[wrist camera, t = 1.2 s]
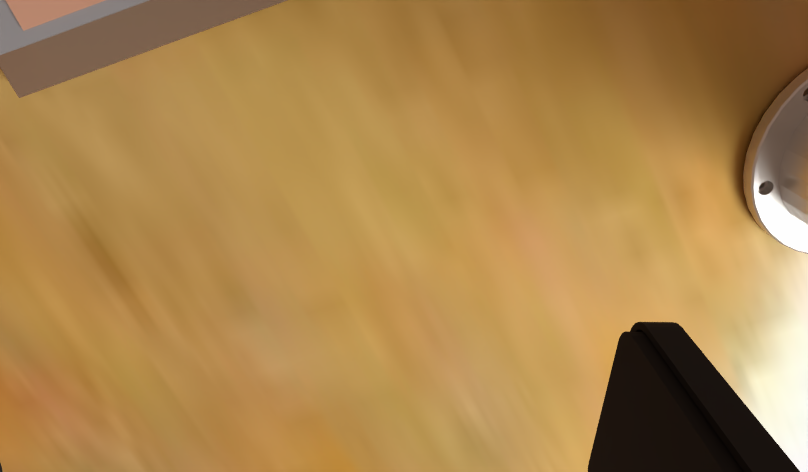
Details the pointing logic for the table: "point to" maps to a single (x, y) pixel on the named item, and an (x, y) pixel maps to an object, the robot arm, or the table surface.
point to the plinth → (98, 33)
